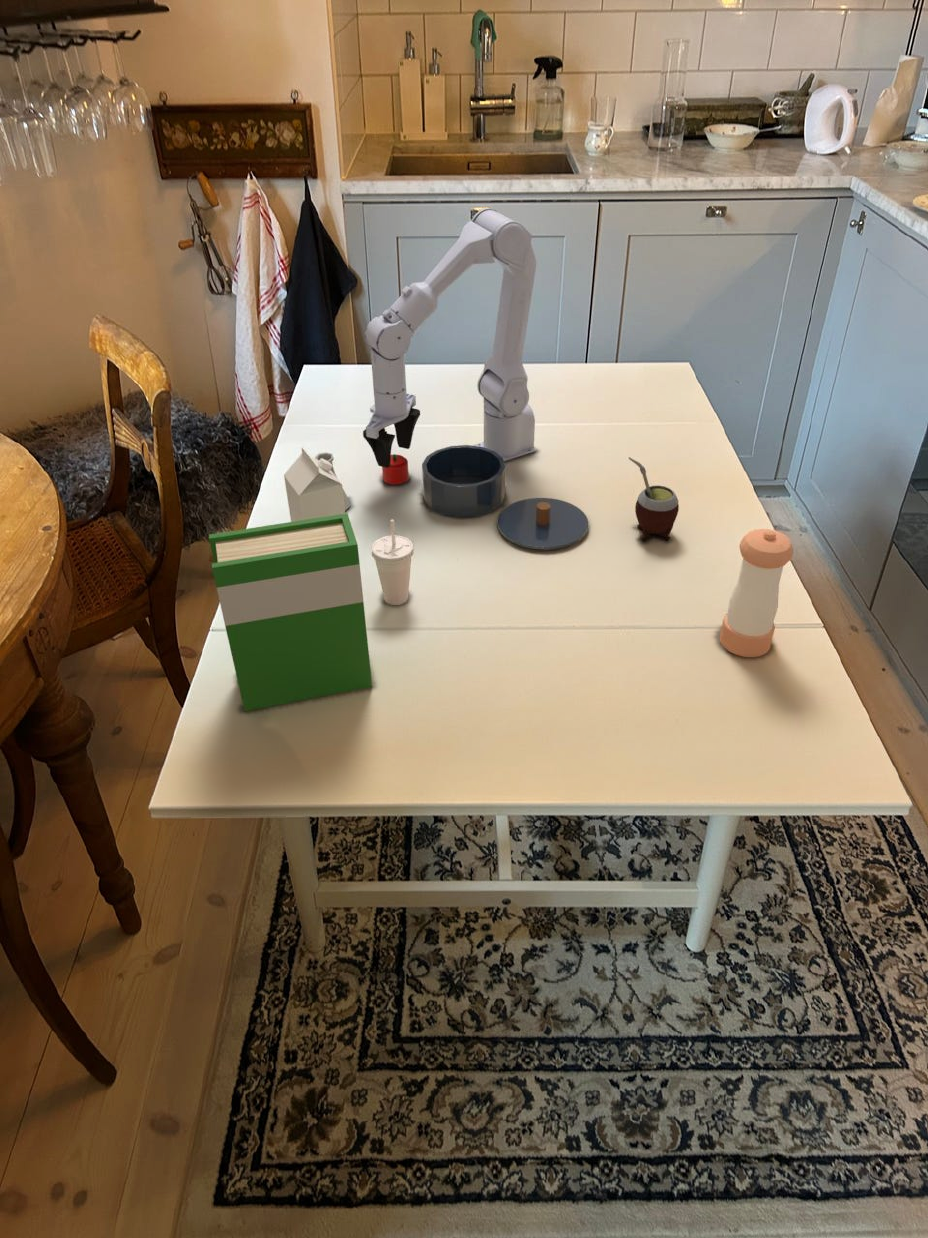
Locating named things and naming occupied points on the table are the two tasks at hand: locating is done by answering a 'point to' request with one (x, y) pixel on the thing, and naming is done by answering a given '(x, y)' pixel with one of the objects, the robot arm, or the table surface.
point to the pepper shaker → (756, 593)
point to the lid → (542, 523)
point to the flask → (330, 458)
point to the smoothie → (393, 565)
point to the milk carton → (313, 489)
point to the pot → (463, 481)
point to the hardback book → (293, 609)
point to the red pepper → (396, 470)
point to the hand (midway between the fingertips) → (394, 456)
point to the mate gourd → (655, 509)
